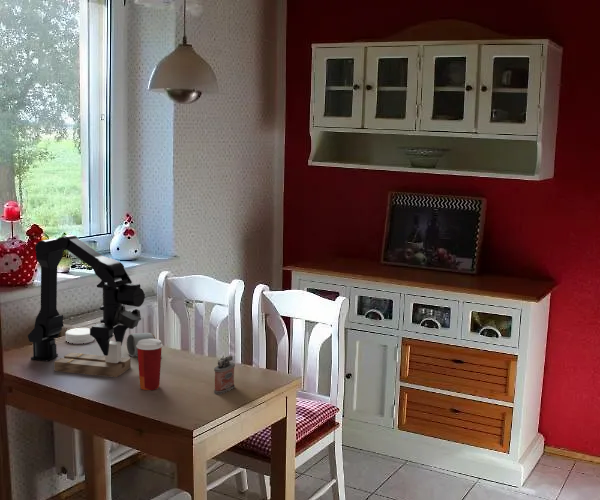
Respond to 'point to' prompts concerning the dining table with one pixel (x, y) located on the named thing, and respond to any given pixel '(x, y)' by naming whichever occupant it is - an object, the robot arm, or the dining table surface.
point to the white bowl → (79, 336)
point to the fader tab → (114, 352)
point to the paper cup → (149, 363)
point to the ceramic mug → (133, 341)
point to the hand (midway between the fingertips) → (112, 351)
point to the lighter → (224, 375)
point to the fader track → (91, 365)
